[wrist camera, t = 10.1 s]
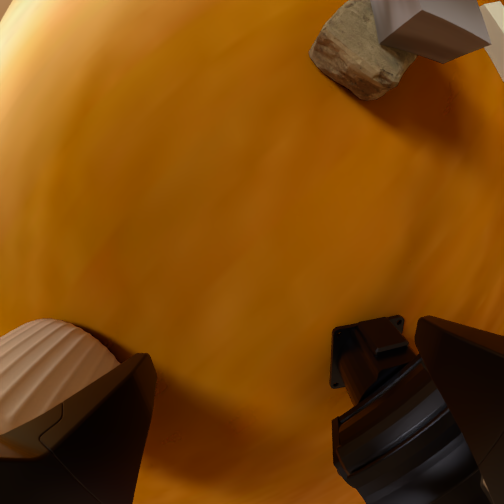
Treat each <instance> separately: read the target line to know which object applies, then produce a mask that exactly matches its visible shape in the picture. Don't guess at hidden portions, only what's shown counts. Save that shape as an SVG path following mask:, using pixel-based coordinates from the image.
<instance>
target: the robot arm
mask: <svg viewBox="0 0 504 504" xmlns="http://www.w3.org/2000/svg"><path fill="white" fill-rule="evenodd" d="M398 320H399V322H397V321H398ZM403 324H404V319H403V317H402V316H400V315H396V316H391V317H382V318H377V319H372V320H367V321H362V322H359V323H356V324H351V325H345V326H339V327H336V328H334V329H333V331H332V345H331V367H330V386H331V388H333V389H336V388H341V387H346V389H347V391H348V394H349V396H350V398H351V401H352V403H353V405H354V407H353V408H351V409H350V410H349V411H347V412H346V413H344V414H343V415H341V416H340V417H339V416H338V417H336V418H335V419H333V420H332V441H333V464H334V466H335V467H336V468H337V472H338V474H339V475H340V476H342V477H343V479H344V480H345V481H346V482H347V483H348V484H349V485H350V486H352V487H353V488H356V489H357V491H358V492H359V493H360V495H361V496H362V497H363V499H364V500H365V502H366V504H504V336H501V335H497V334H494V333H490V332H487V331H483V330H479V329H476V328H472V327H469V326H465V325H462V324H458V323H455V322H451V321H447V320H444V319H440V318H437V317H433V316H430V315H429V316H424V317H421V318H419V320H418V323H417V328H416V334H415V344H416V347H417V349H418V351H419V354H418V355H416V354H415V353H414V351H413V350H412V349H411V348H410V347H409V342H408V341H407V340H406V339H405V338H404V336H403V335H402V331H403ZM338 332H341V333H340V334H338V335H336V334H337V333H338ZM156 381H157V375H156V371H155V368H154V365H153V363H152V360H151V357H150V355H149V354H148V353H137V354H135V355H133V356H132V357H130V358H129V359H127V360H126V361H124V362H123V363H121V364H120V365H118V366H117V367H115V368H114V369H112V370H111V371H109V372H108V373H106V374H104V375H103V376H101V377H100V378H98V379H97V380H95V381H94V382H92V383H91V384H89V385H88V386H86V387H84V388H83V389H81V390H80V391H78V392H77V393H75V394H74V395H72V396H70V397H69V398H67V399H66V400H64V401H63V402H61V403H59V404H58V405H56V406H55V407H53V408H51V409H50V410H48V411H46V412H45V413H43V414H41V415H39V416H38V417H36V418H34V419H32V420H30V421H28V422H26V423H24V424H22V425H20V426H18V427H16V428H14V429H12V430H10V431H8V432H6V433H4V434H1V435H0V504H132V503H133V497H134V492H135V488H136V483H137V478H138V473H139V469H140V464H141V460H142V456H143V451H144V447H145V443H146V439H147V434H148V430H149V426H150V422H151V418H152V412H153V404H154V396H155V389H156ZM334 383H336V384H334Z"/></svg>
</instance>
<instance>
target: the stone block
mask: <svg viewBox="0 0 504 504" xmlns="http://www.w3.org/2000/svg"><path fill="white" fill-rule="evenodd" d="M309 56H310V58H311V59H312V61H313V62H314V63H315V64H316V66H317V67H318V68H319V69H320V70H321V71H322V72H323V73H324V74H326V75H327V76H329V77H330V78H332V79H333V80H334V81H336V82H337V83H339V84H341V85H343V86H345V87H346V88H348V89H349V90H351V91H352V93H353V94H355V95H356V96H357V97H358V98H360V99H362V100H366V101H368V100H376V99H378V98H379V97H381V96H383V95H384V94H385V93H386V92H387V91H389V90H390V89H392V88H394V87H396V86H397V85H398V83H399V81H400V79H401V77H402V75H403V73H404V72H405V71H406V69H407V68H408V67H409V66H410V64H411V63H412V62H414V60H415V59H416V57H417V54H413V53H410V52H407V51H404V50H400V49H397V48H393V47H389V46H385V45H381V44H379V42H378V36H377V30H376V25H375V20H374V15H373V10H372V6H371V2H370V0H349V1H347V2H346V3H345V4H344V5H342V6H341V7H340V8H339V9H338V10H337V11H336V13H335V14H334V15H333V16H332V17H331V18H330V19H329V20H328V21H327V22H326V23H325V25H324V26H323V28H322V30H321V32H320V33H319V35H318V37H317V39H316V40H315V42H314V44H313V45H312V47H311V49H310V51H309Z"/></svg>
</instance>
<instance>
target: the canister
mask: <svg viewBox="0 0 504 504" xmlns="http://www.w3.org/2000/svg"><path fill="white" fill-rule="evenodd" d="M118 365H120V363H119V362H118V361H117V360H116V358H115V356H114V355H113V354H112V353H111V352H110V351H109V350H108V349H107V347H105V346H104V345H102V344H101V343H100V341H99V340H98V339H96V338H94V337H93V336H92V335H91V334H90V333H87V332H85V331H84V330H82V328H80V327H76V326H74V325H73V324H72V323H66V322H64V321H63V320H55V319H38V320H35V321H31V322H28V323H26V324H24V325H22V326H20V327H18V328H16V329H14V330H13V331H11V332H9V333H7V334H6V335H4V336H2V337H0V435H1V434H4V433H6V432H8V431H10V430H12V429H14V428H16V427H18V426H20V425H22V424H24V423H26V422H28V421H30V420H32V419H34V418H36V417H38V416H39V415H41V414H43V413H45V412H46V411H48V410H50V409H51V408H53V407H55V406H56V405H58V404H59V403H61V402H63V401H64V400H66V399H67V398H69V397H70V396H72V395H74V394H75V393H77V392H78V391H80V390H81V389H83V388H84V387H86V386H88V385H89V384H91V383H92V382H94V381H95V380H97V379H98V378H100V377H101V376H103V375H104V374H106V373H108V372H109V371H111V370H112V369H114V368H115V367H117V366H118Z"/></svg>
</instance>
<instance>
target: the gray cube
mask: <svg viewBox="0 0 504 504" xmlns="http://www.w3.org/2000/svg"><path fill="white" fill-rule="evenodd" d="M370 2H371V6H372V10H373V15H374V20H375V25H376V30H377V36H378V42H379V44H381V45H385V46H389V47H393V48H397V49H400V50H404V51H407V52H410V53H413V54H417V55H420V56H423V57H426V58H429V59H431V60H434V61H437V62H440V63H442V64H444V63H446V62H448V61H451V60H453V59H455V58H458V57H460V56H463V55H465V54H468V53H470V52H473V51H476V50H478V49H481V48H483V47H486V46H489V45H492V44H491V41H490V37H489V34H488V31H487V28H486V25H485V22H484V19H483V16H482V13H481V11H480V8H479V6H478V3H477V1H476V0H370Z"/></svg>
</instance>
